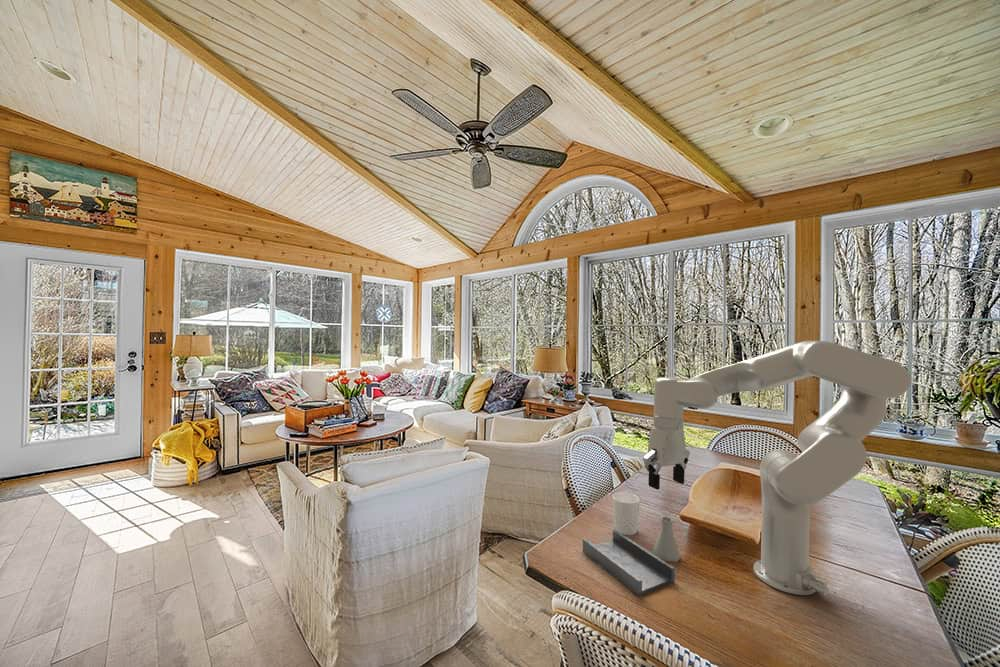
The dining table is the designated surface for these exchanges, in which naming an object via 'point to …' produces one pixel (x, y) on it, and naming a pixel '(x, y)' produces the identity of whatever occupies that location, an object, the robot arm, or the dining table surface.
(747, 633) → the dining table surface
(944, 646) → the dining table surface
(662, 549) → the flask
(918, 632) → the dining table surface
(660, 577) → the track
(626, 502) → the white cup
